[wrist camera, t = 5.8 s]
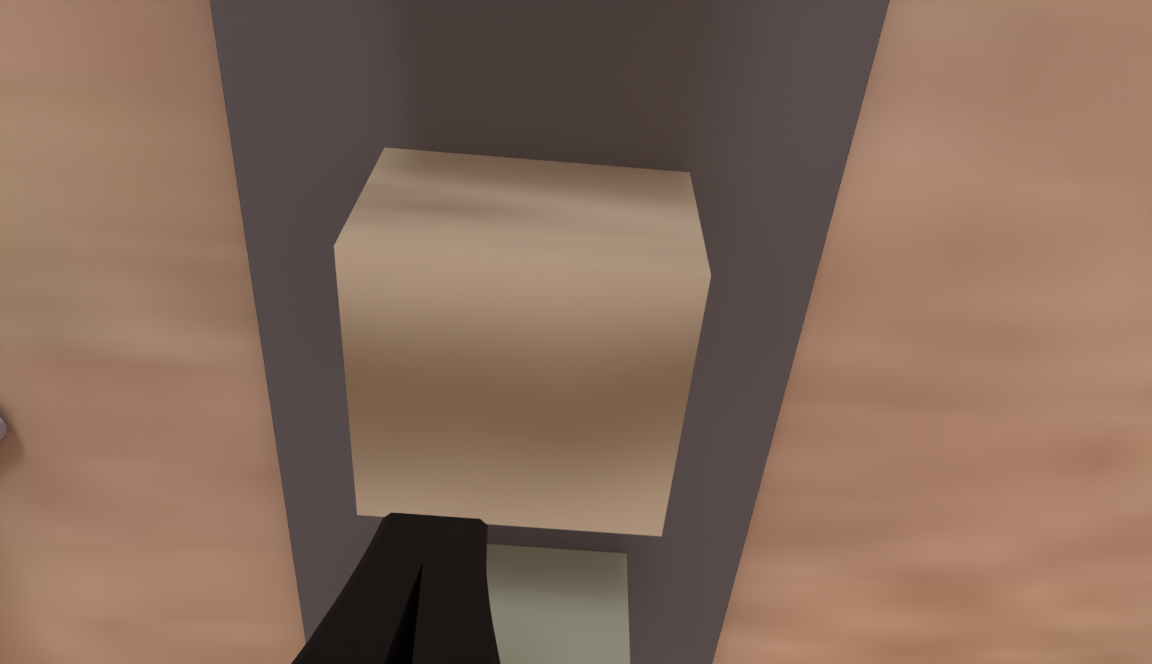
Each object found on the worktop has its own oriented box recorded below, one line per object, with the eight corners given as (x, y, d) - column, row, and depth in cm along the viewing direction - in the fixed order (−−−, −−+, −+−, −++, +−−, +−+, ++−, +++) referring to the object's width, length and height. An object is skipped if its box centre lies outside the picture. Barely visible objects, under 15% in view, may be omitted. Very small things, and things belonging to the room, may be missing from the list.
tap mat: (697, 699, 28) (698, 713, 28) (316, 673, 28) (312, 688, 27) (1064, -704, 11) (1082, -720, 11) (105, -808, 11) (85, -830, 10)
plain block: (651, 408, 21) (661, 536, 17) (395, 389, 21) (357, 514, 17) (689, 172, 17) (711, 275, 14) (384, 147, 17) (333, 245, 14)
